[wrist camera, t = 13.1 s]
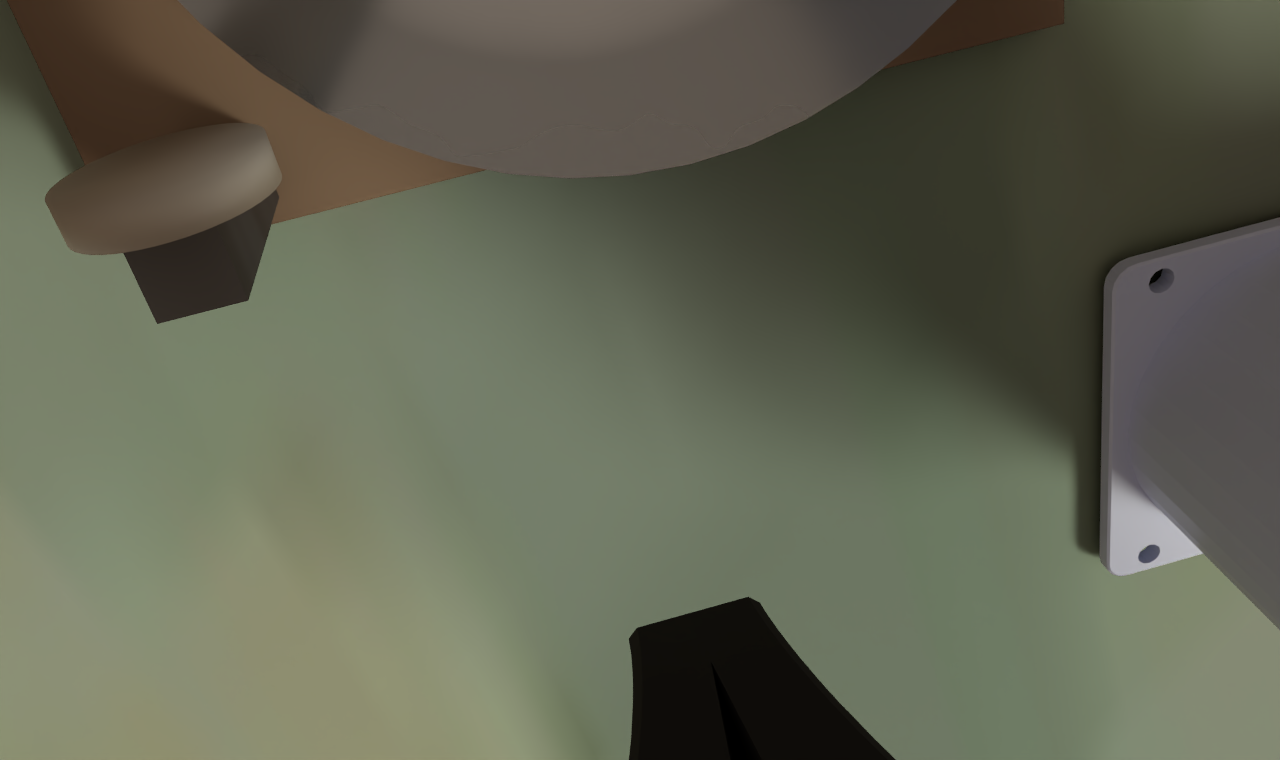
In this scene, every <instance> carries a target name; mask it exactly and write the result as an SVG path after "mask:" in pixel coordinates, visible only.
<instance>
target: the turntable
mask: <svg viewBox="0 0 1280 760" xmlns="http://www.w3.org/2000/svg"><path fill="white" fill-rule="evenodd" d="M178 1H179V2H180V3H181V4H182V5H183V6H184V7H185V8H186V9H187V10H188V11H189V12H190V13H191V14H192V16H193V17H194V18H195V19H196V20H197V21H198V22H199V23H200V24H202V25H203V26H204V27H205V28H206V29H208V30H209V31H210V32H211V33H213V34H214V35H215V36H216V37H218V38H219V39H220V40H221V41H223V42H224V43H225V44H226V45H227V46H229V47H230V48H231V49H232V50H234V51H235V52H236V53H237V54H239V55H240V56H241V57H242V58H243V59H245V60H246V61H247V62H248V63H250V64H251V65H252V66H253V67H255V68H256V69H257V70H258V71H260V72H261V73H263V74H264V75H266V76H267V77H269V78H270V79H272V80H274V81H275V82H277V83H278V84H280V85H282V86H283V87H285V88H286V89H288V90H289V91H291V92H293V93H294V94H296V95H297V96H299V97H300V98H302V99H304V100H305V101H307V102H308V103H310V104H311V105H313V106H315V107H316V108H318V109H319V110H321V111H323V112H325V113H327V114H329V115H331V116H334V117H336V118H338V119H340V120H342V121H344V122H346V123H348V124H350V125H352V126H354V127H357V128H359V129H361V130H363V131H365V132H367V133H369V134H371V135H373V136H375V137H377V138H380V139H382V140H384V141H387V142H390V143H393V144H396V145H399V146H402V147H405V148H408V149H411V150H414V151H417V152H420V153H423V154H426V155H429V156H432V157H435V158H438V159H441V160H444V161H447V162H452V163H457V164H462V165H467V166H472V167H477V168H482V169H487V170H492V171H497V172H502V173H507V174H518V175H531V176H545V177H558V178H586V177H604V176H623V175H634V174H640V173H645V172H651V171H656V170H662V169H667V168H673V167H678V166H684V165H689V164H693V163H696V162H699V161H702V160H705V159H709V158H712V157H715V156H718V155H721V154H725V153H728V152H731V151H734V150H737V149H740V148H744V147H747V146H749V145H752V144H754V143H756V142H758V141H760V140H763V139H765V138H767V137H769V136H771V135H773V134H776V133H778V132H780V131H782V130H784V129H787V128H789V127H791V126H793V125H795V124H798V123H800V122H802V121H804V120H806V119H807V118H809V117H811V116H812V115H814V114H816V113H817V112H819V111H821V110H822V109H824V108H825V107H827V106H829V105H830V104H832V103H834V102H835V101H837V100H838V99H840V98H842V97H843V96H845V95H847V94H848V93H850V92H852V91H853V90H855V89H856V88H858V87H859V86H861V85H862V84H863V83H864V82H866V81H867V80H868V79H870V78H871V77H872V76H873V75H875V74H876V73H877V72H878V71H880V70H881V69H882V68H884V67H885V66H886V65H887V64H889V63H890V62H891V61H892V60H894V59H895V58H896V57H898V56H899V55H900V54H901V53H903V52H904V51H905V50H906V49H908V48H909V47H910V46H911V45H912V44H913V43H914V42H915V41H916V40H917V39H918V38H919V37H920V36H921V35H922V34H923V33H924V32H925V31H926V30H927V29H928V28H929V27H930V26H931V25H932V24H933V23H934V22H935V21H936V20H937V19H938V18H939V17H940V16H941V15H942V14H943V13H944V12H945V11H946V10H947V9H948V8H949V7H950V6H951V5H952V4H953V3H954V2H955V1H956V0H178Z"/></svg>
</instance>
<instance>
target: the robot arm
mask: <svg viewBox="0 0 1280 760" xmlns="http://www.w3.org/2000/svg"><path fill="white" fill-rule="evenodd" d="M1161 269H1163V271H1162V274H1161V276H1160V278H1159V279H1158V280H1157V281H1156V282H1154V283H1152V284H1150V285H1149V282H1150V278H1151V277H1152V276H1153V275H1154V273H1155V272H1157V271H1159V270H1161ZM1146 546H1147V547H1146ZM1144 547H1146V549H1145V550H1143V551H1141V550H1142V549H1143V548H1144ZM1140 551H1141V552H1140ZM1200 554H1204V555H1205V556H1206V557H1207V558H1208V559H1209V560H1210V561H1211V562H1212V563H1213V564H1214V565H1215V566H1216V567H1217V568H1218V569H1219V570H1220V571H1221V572H1222V573H1223V574H1224V575H1225V576H1226V577H1227V578H1228V579H1229V580H1230V581H1231V582H1232V583H1233V584H1234V585H1235V586H1236V587H1237V588H1238V589H1239V590H1240V591H1241V592H1242V593H1243V594H1244V595H1245V596H1246V597H1247V598H1248V599H1249V600H1250V601H1251V602H1252V603H1253V604H1254V605H1255V606H1256V607H1257V608H1258V609H1259V610H1260V611H1261V612H1262V613H1263V614H1264V615H1265V616H1266V617H1267V618H1268V619H1269V620H1270V621H1271V622H1272V623H1273V624H1274V625H1275V626H1276V627H1277V628H1278V629H1279V630H1280V217H1279V218H1275V219H1271V220H1267V221H1264V222H1260V223H1256V224H1252V225H1249V226H1245V227H1241V228H1237V229H1234V230H1230V231H1226V232H1222V233H1219V234H1215V235H1211V236H1207V237H1204V238H1200V239H1196V240H1192V241H1189V242H1185V243H1181V244H1177V245H1174V246H1170V247H1166V248H1162V249H1159V250H1155V251H1151V252H1147V253H1144V254H1140V255H1136V256H1132V257H1129V258H1126V259H1124V260H1122V261H1120V262H1118V263H1117V264H1116V265H1115V266H1114V267H1113V268H1112V269H1111V270H1110V272H1109V273H1108V275H1107V277H1106V279H1105V284H1104V314H1103V375H1102V436H1101V497H1100V560H1101V563H1102V564H1103V565H1104V566H1105V567H1106V569H1107V570H1108V571H1109V572H1110V573H1111V574H1113V575H1117V576H1123V575H1129V574H1132V573H1136V572H1140V571H1143V570H1147V569H1150V568H1154V567H1157V566H1161V565H1164V564H1168V563H1171V562H1175V561H1178V560H1182V559H1186V558H1189V557H1193V556H1196V555H1200ZM629 643H630V649H631V655H632V669H633V715H632V735H631V746H630V756H629V760H895V759H894V758H893V757H892V756H891V755H890V754H889V753H888V752H887V751H886V750H885V749H884V748H883V747H882V746H881V745H880V744H879V743H878V742H877V741H876V740H875V739H874V738H873V737H872V736H871V735H870V734H869V733H868V732H867V731H866V730H865V729H864V728H863V727H862V726H861V725H860V724H859V722H858V721H857V720H856V719H855V718H854V717H853V716H852V715H851V714H850V713H849V712H848V711H847V710H846V709H845V708H844V707H843V706H842V705H841V704H840V703H839V702H838V701H837V700H836V699H835V697H834V696H833V695H832V694H831V693H830V692H829V691H828V690H827V689H826V688H825V686H824V685H823V684H822V683H821V682H820V681H819V680H818V678H817V677H816V676H815V675H814V674H813V673H812V671H811V670H810V669H809V668H808V667H807V666H806V664H805V663H804V662H803V661H802V660H801V659H800V657H799V656H798V655H797V654H796V652H795V651H794V650H793V649H792V647H791V646H790V645H789V644H788V642H787V641H786V640H785V638H784V637H783V636H782V635H781V633H780V632H779V631H778V629H777V628H776V626H775V625H774V624H773V622H772V621H771V619H770V618H769V616H768V615H767V613H766V612H765V610H764V609H763V607H762V606H761V604H760V603H759V602H757V601H755V600H753V599H751V598H749V597H746V598H743V599H739V600H735V601H732V602H728V603H725V604H721V605H717V606H714V607H710V608H707V609H703V610H699V611H696V612H692V613H689V614H685V615H681V616H678V617H674V618H671V619H667V620H664V621H660V622H656V623H653V624H649V625H646V626H642V627H638V628H637V629H636V630H635V631H634V633H633V634H632V635H631V637H630V638H629Z"/></svg>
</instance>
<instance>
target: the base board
mask: <svg viewBox="0 0 1280 760" xmlns="http://www.w3.org/2000/svg"><path fill="white" fill-rule="evenodd" d="M7 2H8V4H9V6H10V8H11V10H12V12H13V14H14V16H15V18H16V20H17V23H18V25H19V27H20V29H21V31H22V33H23V35H24V37H25V39H26V42H27V44H28V46H29V48H30V50H31V52H32V54H33V56H34V58H35V61H36V63H37V65H38V67H39V69H40V71H41V73H42V75H43V77H44V79H45V82H46V84H47V86H48V88H49V90H50V92H51V94H52V96H53V98H54V101H55V103H56V105H57V107H58V109H59V111H60V113H61V115H62V117H63V119H64V122H65V124H66V126H67V128H68V130H69V132H70V134H71V136H72V138H73V141H74V143H75V145H76V147H77V149H78V151H79V153H80V155H81V157H82V160H83V162H84V164H85V166H83V167H81V168H80V169H78V170H76V171H74V172H73V173H71V174H69V175H68V176H66V177H65V178H63V179H62V180H60V181H59V182H58V183H56V184H55V185H54V186H53V187H52V188H51V189H50V190H49V191H48V193H47V194H46V197H45V202H46V204H47V206H48V208H49V210H50V212H51V214H52V216H53V218H54V220H55V222H56V224H57V226H58V228H59V230H60V232H61V234H62V236H63V238H64V240H65V242H66V244H67V246H68V247H69V248H70V249H71V250H72V251H74V252H77V253H81V254H88V255H107V254H118V253H124V255H125V257H126V259H127V261H128V264H129V266H130V268H131V270H132V272H133V274H134V276H135V278H136V280H137V282H138V285H139V287H140V289H141V291H142V293H143V295H144V297H145V299H146V301H147V303H148V306H149V308H150V310H151V312H152V314H153V316H154V318H155V320H156V322H157V324H158V323H162V322H166V321H170V320H174V319H178V318H182V317H186V316H190V315H194V314H197V313H201V312H205V311H209V310H213V309H217V308H221V307H225V306H229V305H232V304H236V303H240V302H244V301H248V299H249V296H250V293H251V289H252V286H253V283H254V280H255V276H256V273H257V270H258V266H259V263H260V260H261V256H262V253H263V250H264V246H265V243H266V240H267V237H268V233H269V230H270V227H271V224H275V223H278V222H282V221H286V220H290V219H294V218H298V217H302V216H306V215H310V214H314V213H318V212H322V211H326V210H330V209H334V208H338V207H342V206H346V205H350V204H353V203H357V202H361V201H365V200H369V199H373V198H377V197H381V196H385V195H389V194H393V193H397V192H401V191H405V190H409V189H413V188H417V187H421V186H425V185H428V184H432V183H436V182H440V181H444V180H448V179H452V178H456V177H460V176H464V175H468V174H472V173H476V172H480V171H484V170H487V169H482V168H477V167H472V166H467V165H462V164H457V163H452V162H447V161H444V160H441V159H438V158H435V157H432V156H429V155H426V154H423V153H420V152H417V151H414V150H411V149H408V148H405V147H402V146H399V145H396V144H393V143H390V142H387V141H384V140H382V139H380V138H377V137H375V136H373V135H371V134H369V133H367V132H365V131H363V130H361V129H359V128H357V127H354V126H352V125H350V124H348V123H346V122H344V121H342V120H340V119H338V118H336V117H334V116H331V115H329V114H327V113H325V112H323V111H321V110H319V109H318V108H316V107H315V106H313V105H311V104H310V103H308V102H307V101H305V100H304V99H302V98H300V97H299V96H297V95H296V94H294V93H293V92H291V91H289V90H288V89H286V88H285V87H283V86H282V85H280V84H278V83H277V82H275V81H274V80H272V79H270V78H269V77H267V76H266V75H264V74H263V73H261V72H260V71H258V70H257V69H256V68H255V67H253V66H252V65H251V64H250V63H248V62H247V61H246V60H245V59H243V58H242V57H241V56H240V55H239V54H237V53H236V52H235V51H234V50H232V49H231V48H230V47H229V46H227V45H226V44H225V43H224V42H223V41H221V40H220V39H219V38H218V37H216V36H215V35H214V34H213V33H211V32H210V31H209V30H208V29H206V28H205V27H204V26H203V25H202V24H200V23H199V22H198V21H197V20H196V19H195V18H194V17H193V16H192V14H191V13H190V12H189V11H188V10H187V9H186V8H185V7H184V6H183V5H182V4H181V3H180V2H179V1H178V0H7ZM1060 24H1064V0H956V1H955V2H954V3H953V4H952V5H951V6H950V7H949V8H948V9H947V10H946V11H945V12H944V13H943V14H942V15H941V16H940V17H939V18H938V19H937V20H936V21H935V22H934V23H933V24H932V25H931V26H930V27H929V28H928V29H927V30H926V31H925V32H924V33H923V34H922V35H921V36H920V37H919V38H918V39H917V40H916V41H915V42H914V43H913V44H912V45H911V46H910V47H909V48H908V49H906V50H905V51H904V52H903V53H901V54H900V55H899V56H898V57H896V58H895V59H894V60H892V61H891V62H890V63H889V64H887V65H886V66H885V67H884V68H882V69H886V68H890V67H894V66H898V65H902V64H906V63H910V62H914V61H918V60H922V59H926V58H930V57H934V56H938V55H942V54H946V53H950V52H953V51H957V50H961V49H965V48H969V47H973V46H977V45H981V44H985V43H989V42H993V41H997V40H1001V39H1005V38H1009V37H1013V36H1017V35H1021V34H1025V33H1028V32H1032V31H1036V30H1040V29H1044V28H1048V27H1052V26H1056V25H1060ZM882 69H881V70H882Z"/></svg>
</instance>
